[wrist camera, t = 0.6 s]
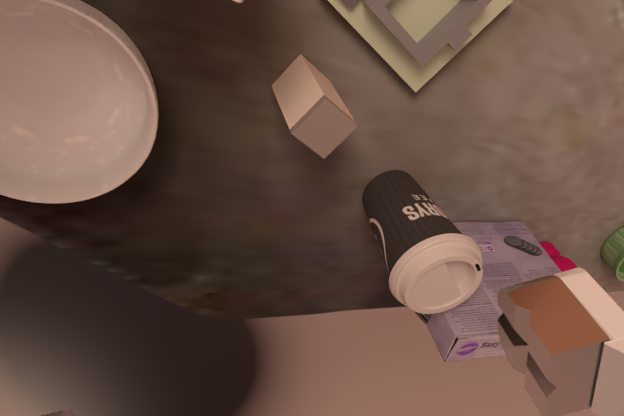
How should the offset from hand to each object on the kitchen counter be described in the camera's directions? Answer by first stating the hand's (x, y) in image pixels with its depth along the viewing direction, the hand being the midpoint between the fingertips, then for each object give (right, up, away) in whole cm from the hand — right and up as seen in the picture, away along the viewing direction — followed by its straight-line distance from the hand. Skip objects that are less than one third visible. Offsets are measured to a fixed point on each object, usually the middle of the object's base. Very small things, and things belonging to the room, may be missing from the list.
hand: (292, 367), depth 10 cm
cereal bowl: (-21, +14, +34) cm, 42 cm away
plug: (-1, +15, +40) cm, 42 cm away
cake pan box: (+19, 0, +58) cm, 61 cm away
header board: (+10, +22, +37) cm, 44 cm away
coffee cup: (+9, +5, +51) cm, 52 cm away
